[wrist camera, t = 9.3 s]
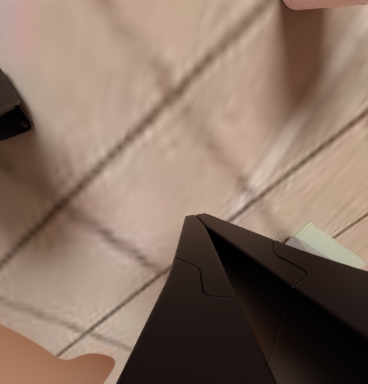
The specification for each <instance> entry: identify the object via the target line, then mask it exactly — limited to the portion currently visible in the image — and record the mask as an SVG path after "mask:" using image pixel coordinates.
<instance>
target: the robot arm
mask: <svg viewBox="0 0 368 384" xmlns="http://www.w3.org/2000/svg"><path fill="white" fill-rule="evenodd" d="M20 102H21V99H20V97H19V96H18V94H17V93H16V91H15V90H14V88H13V87H12V85H11V84H10V82H9V81H8V79H7V78H6V76H5V75H4V73H3V72H2V70H1V69H0V141H2V140H5V139H7V138H10V137H13V136H16V135H18V134H21V133H24V132H27V131H29V130H30V129H32V128H33V123H32V121H31V119H30V118H29V116H28V115H27V113H26V112H25V110H24V109H23V107H22V106H21V104H20ZM22 121H24V122H26V123H27V125H28V126H27V127H25V126H23V124H22ZM116 384H368V271H365V270H361V269H358V268H355V267H352V266H349V265H346V264H343V263H340V262H336V261H333V260H330V259H327V258H324V257H321V256H318V255H315V254H312V253H309V252H306V251H303V250H300V249H297V248H294V247H292V246H289V245H286V244H284V243H281V242H279V241H276V240H275V241H274V240H272V239H270V238H267V237H265V236H262V235H260V234H257V233H255V232H252V231H249V230H247V229H244V228H242V227H239V226H237V225H234V224H231V223H229V222H226V221H224V220H221V219H219V218H216V217H214V216H211V215H208V214H206V213H204V214H198V215H196V216H195V215H190V216H186V217H185V220H184V224H183V228H182V231H181V235H180V239H179V242H178V246H177V250H176V254H175V257H174V260H173V264H172V267H171V270H170V273H169V276H168V278H167V280H166V283H165V285H164V287H163V289H162V291H161V293H160V295H159V297H158V299H157V301H156V304H155V306H154V308H153V310H152V312H151V314H150V316H149V318H148V320H147V322H146V324H145V326H144V328H143V330H142V332H141V334H140V336H139V338H138V340H137V342H136V344H135V346H134V348H133V350H132V352H131V354H130V356H129V358H128V360H127V362H126V364H125V366H124V369H123V371H122V373H121V375H120V377H119V379H118V381H117V383H116Z"/></svg>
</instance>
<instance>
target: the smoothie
mask: <svg viewBox="0 0 368 384" xmlns="http://www.w3.org/2000/svg"><path fill="white" fill-rule="evenodd" d="M283 2H284V3H285V5H286V6H287V7H289V8H290V9H293V10H305V9H317V8H329V7H341V6H353V5H365V4H368V0H283Z"/></svg>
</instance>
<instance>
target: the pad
mask: <svg viewBox="0 0 368 384" xmlns="http://www.w3.org/2000/svg"><path fill="white" fill-rule="evenodd" d="M295 237H296V238H298V239H299V240H301V241H303V242H304V243H306V244H307V245H309V246H311V247H312V248H314V249H315V250H317V251H319V252H320V253H322V254H323V255H325V256H327V257H328V258H330V259H331V260H333V261H336V262H340V263H343V264H346V265H349V266H352V267H355V268H358V269H360V268H362V267H363V266H364V265H365V264H367V262H366V261H364V260H363V259H362V258H360V257H359V256H357V255H356V254H355V253H353V252H352V251H350V250H349V249H348V248H346V247H345V246H343V245H342V244H341V243H339V242H338V241H336V240H335V239H334V238H332V237H331V236H329V235H328V234H326V233H325V232H324V231H322V230H321V229H319V228H318V227H317V226H315V225H314V224H312V223H311V222H309V223H308V224H307V225H306V226H304V227H303V228H302V229H301V230H300V231H299V232H298V233H297V234H296V235H295Z"/></svg>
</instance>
